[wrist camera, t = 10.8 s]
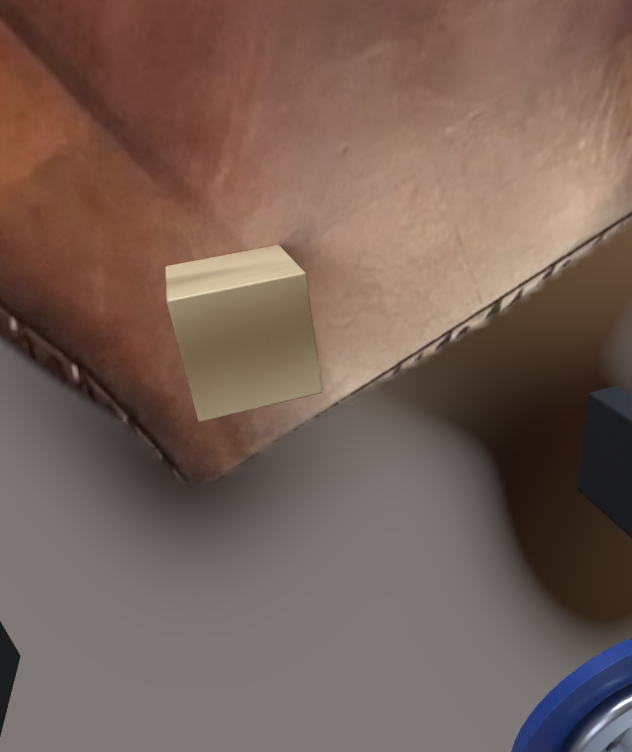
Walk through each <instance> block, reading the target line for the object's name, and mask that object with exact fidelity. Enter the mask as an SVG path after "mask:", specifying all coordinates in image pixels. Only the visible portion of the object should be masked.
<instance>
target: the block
mask: <svg viewBox="0 0 632 752" xmlns="http://www.w3.org/2000/svg"><path fill="white" fill-rule="evenodd" d="M165 272H166V297H167V305H168V309H169V312H170V316H171V320H172V324H173V327H174V331H175V335H176V339H177V342H178V346H179V350H180V354H181V357H182V361H183V365H184V369H185V372H186V376H187V380H188V384H189V387H190V391H191V395H192V399H193V402H194V406H195V410H196V414H197V417H198V421H199V422H202V421H206V420H210V419H214V418H219V417H223V416H227V415H231V414H235V413H239V412H243V411H248V410H252V409H256V408H260V407H264V406H268V405H273V404H277V403H281V402H285V401H289V400H293V399H297V398H302V397H306V396H310V395H314V394H318V393H322V384H321V377H320V370H319V363H318V356H317V349H316V342H315V335H314V328H313V321H312V314H311V307H310V299H309V292H308V285H307V278H306V273H305V272H304V271H303V270H302V269H301V268H300V267H299V266H298V264H297V263H296V262H295V261H294V260H293V259H292V258H291V257H290V256H289V255H288V254H287V253H286V252H285V251H284V250H283V249H282V248H281V247H280V245H275V246H270V247H264V248H259V249H254V250H249V251H244V252H238V253H233V254H228V255H223V256H217V257H212V258H207V259H202V260H196V261H191V262H186V263H181V264H175V265H170V266H166V267H165Z"/></svg>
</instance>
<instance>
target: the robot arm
mask: <svg viewBox="0 0 632 752" xmlns="http://www.w3.org/2000/svg"><path fill="white" fill-rule="evenodd" d="M578 491H580V492H581V493H582V494H583V495H584V496H585V497H586V498H588V500H590V501H591V502H592V503H593V504H594V505H595V506H596V507H598V508H599V509H600V510H601V511H602V512H603V513H604V514H605V515H606V516H608V517H609V518H610V519H611V520H612V521H613V522H614V523H615V524H617V525H618V526H619V527H620V528H621V529H622V530H623V531H624V532H626V533H627V534H628V535H629V536H630V537H631V538H632V394H631V393H630V392H628V391H627V390H625V389H623V388H622V387H620V386H614V387H611V388H607V389H603V390H600V391H596V392H592V393H589V396H588V404H587V412H586V421H585V431H584V438H583V446H582V455H581V463H580V472H579V481H578ZM19 660H20V654H19V653H18V651H17V649H16V648H15V646H14V644H13V642H12V641H11V639H10V637H9V635H8V634H7V632H6V630H5V629H4V627H3V625H2V623H1V622H0V735H1V731H2V727H3V723H4V719H5V716H6V712H7V708H8V703H9V700H10V696H11V691H12V687H13V684H14V680H15V676H16V672H17V668H18V664H19ZM559 752H632V683H630V684H628V685H626V686H624V687H622V688H620V689H619V690H617V691H615V692H614V693H612V694H610V695H609V696H607V697H606V698H605V699H603V700H602V701H600V702H599V703H598V704H597V705H595V706H594V707H593V708H592V709H591V710H590V711H588V712H587V713H586V714H585V715H584V716H583V717H582V718H581V719H580V720H579V721H578V722H577V724H576V725H575V726H574V727H573V728H572V730H571V731H570V732H569V734H568V735H567V737H566V738H565V740H564V742H563V744H562V746H561V748H560V750H559Z"/></svg>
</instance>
